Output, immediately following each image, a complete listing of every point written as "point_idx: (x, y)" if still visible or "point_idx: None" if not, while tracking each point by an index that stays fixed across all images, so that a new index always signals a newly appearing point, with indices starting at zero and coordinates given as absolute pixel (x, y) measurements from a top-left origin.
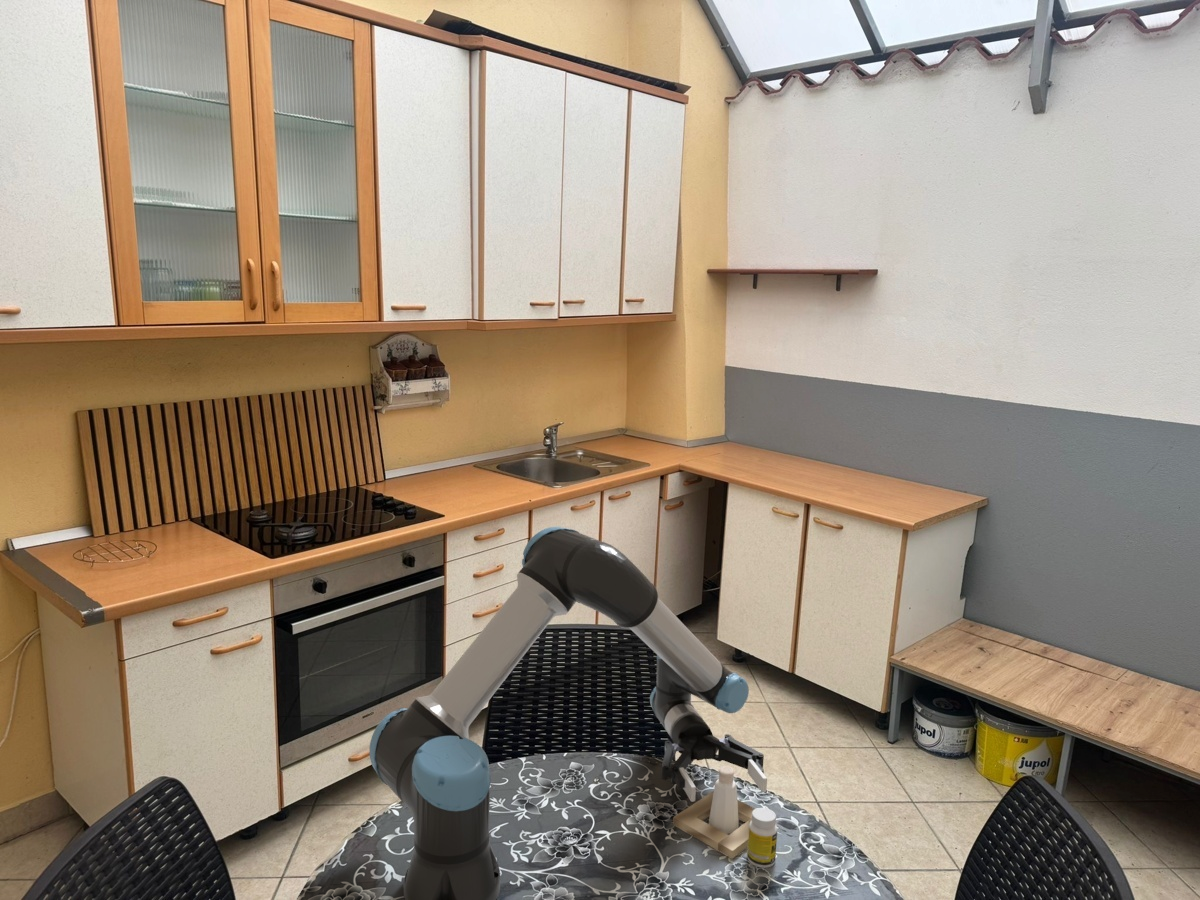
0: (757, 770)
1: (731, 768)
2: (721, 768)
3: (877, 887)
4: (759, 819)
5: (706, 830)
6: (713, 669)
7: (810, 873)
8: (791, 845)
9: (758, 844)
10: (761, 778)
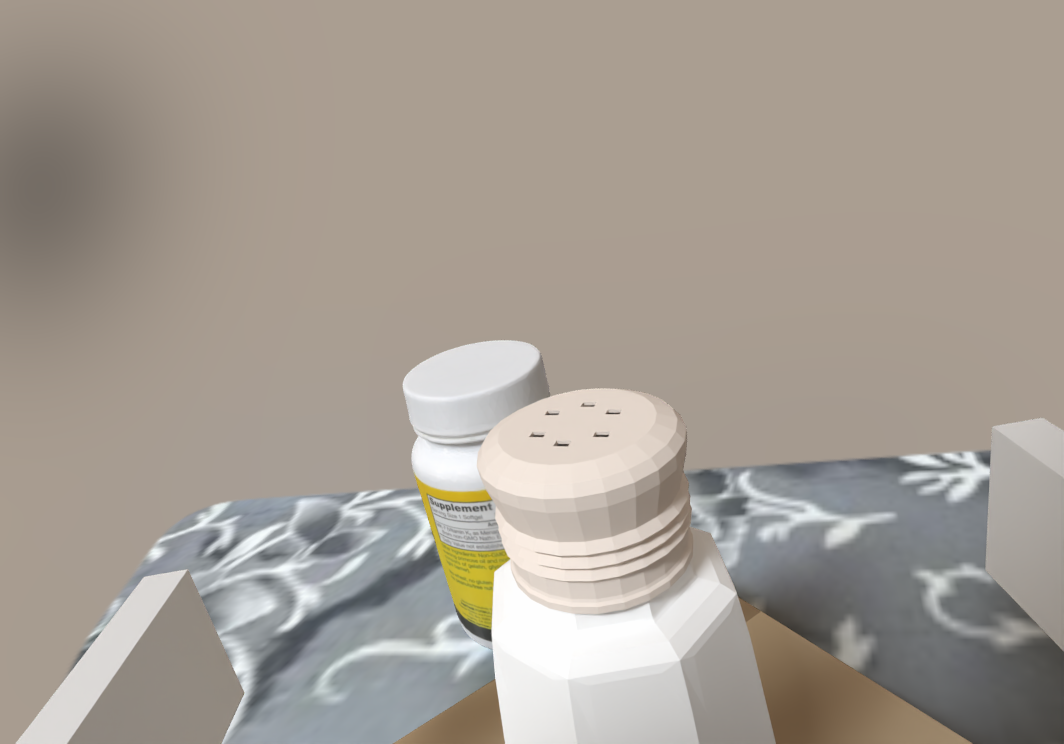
0: (86, 705)
1: (502, 439)
2: (639, 432)
3: (203, 510)
4: (519, 343)
5: (848, 720)
6: None
7: (366, 545)
8: (307, 694)
9: None
10: (177, 617)
